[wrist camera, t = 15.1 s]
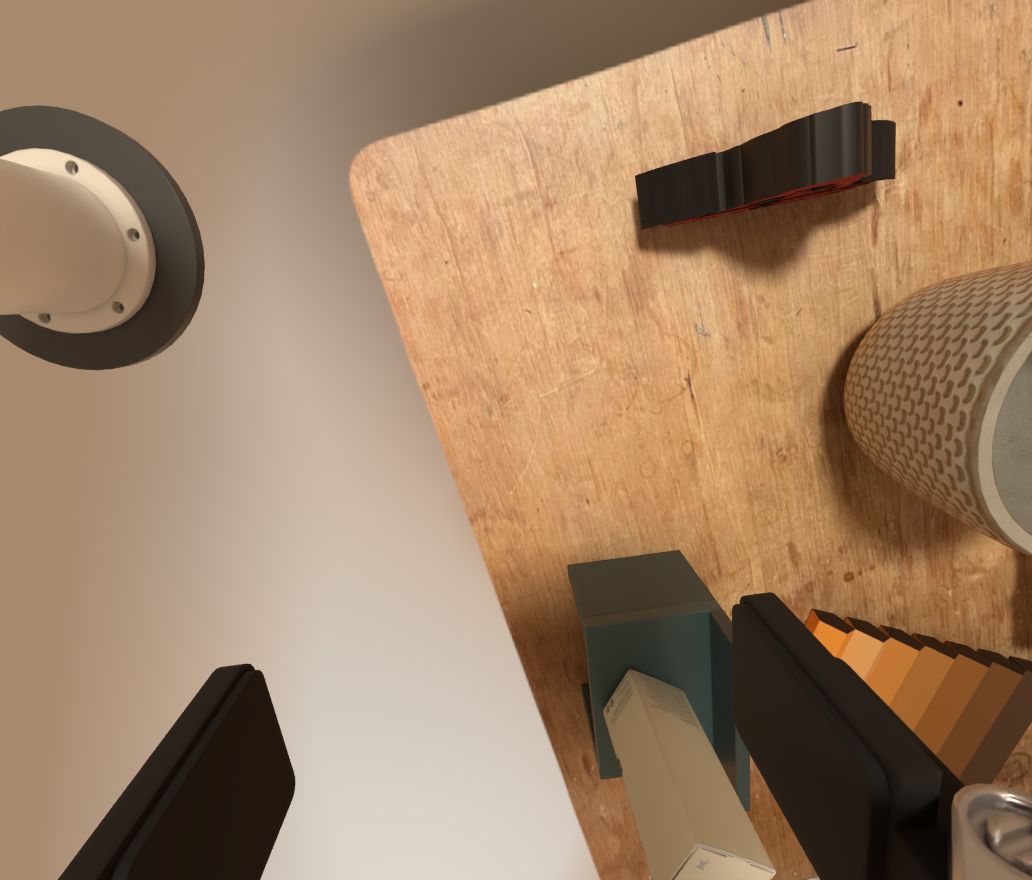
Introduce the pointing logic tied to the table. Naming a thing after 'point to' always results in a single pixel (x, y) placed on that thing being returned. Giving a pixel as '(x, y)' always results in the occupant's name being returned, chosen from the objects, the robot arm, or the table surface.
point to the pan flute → (939, 690)
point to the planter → (954, 399)
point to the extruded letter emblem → (773, 168)
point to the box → (679, 788)
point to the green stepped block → (658, 649)
